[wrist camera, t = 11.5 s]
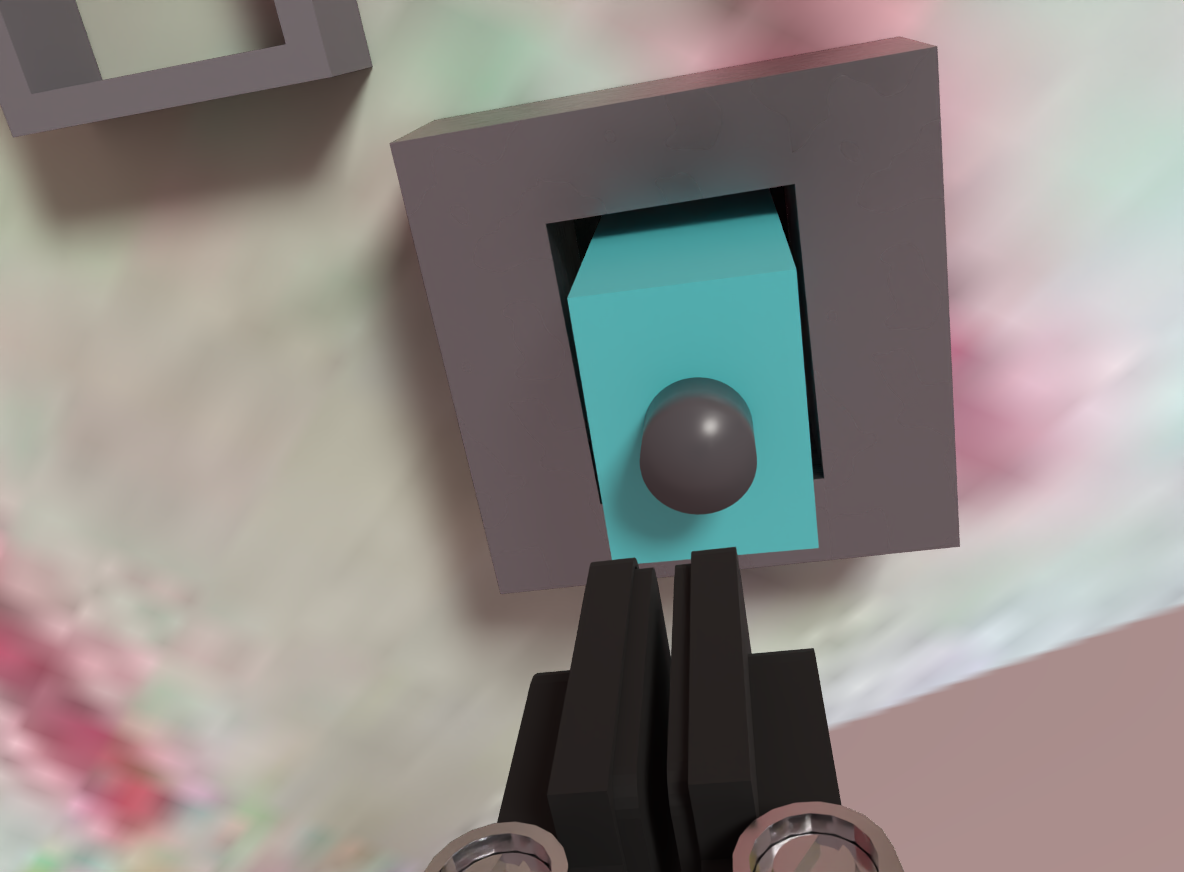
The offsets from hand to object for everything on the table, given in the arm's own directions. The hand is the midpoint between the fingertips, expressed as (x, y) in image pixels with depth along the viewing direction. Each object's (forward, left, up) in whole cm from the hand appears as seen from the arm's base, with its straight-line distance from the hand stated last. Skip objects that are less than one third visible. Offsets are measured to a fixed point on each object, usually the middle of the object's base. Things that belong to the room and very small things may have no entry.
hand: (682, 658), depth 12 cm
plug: (0, 0, -15) cm, 15 cm away
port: (0, 0, -15) cm, 15 cm away
